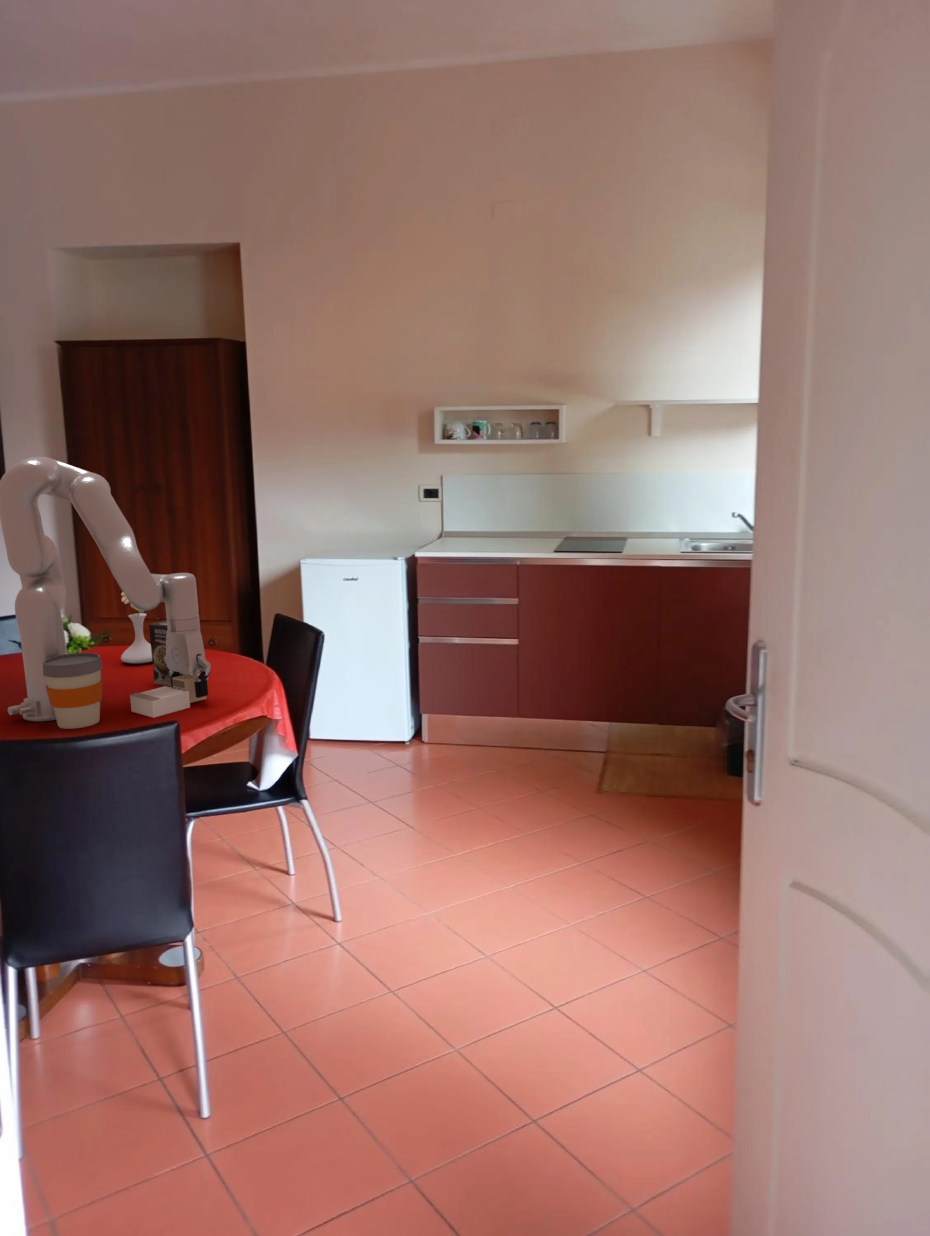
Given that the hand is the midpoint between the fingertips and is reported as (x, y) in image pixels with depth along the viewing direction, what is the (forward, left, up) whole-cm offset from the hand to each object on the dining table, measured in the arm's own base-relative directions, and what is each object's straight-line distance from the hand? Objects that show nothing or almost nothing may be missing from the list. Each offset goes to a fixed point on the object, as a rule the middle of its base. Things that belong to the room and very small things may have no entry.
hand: (189, 693), depth 241 cm
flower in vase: (+18, +48, -2) cm, 51 cm away
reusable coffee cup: (-25, +7, -2) cm, 26 cm away
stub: (0, 0, -2) cm, 2 cm away
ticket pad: (-8, 0, -2) cm, 9 cm away
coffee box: (+9, +19, -2) cm, 21 cm away
